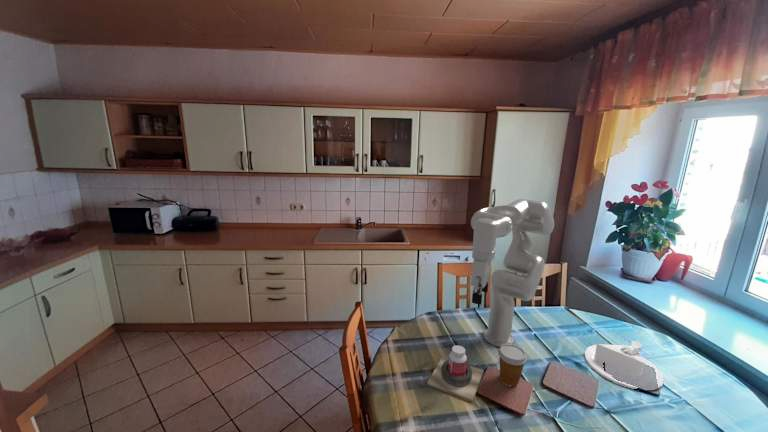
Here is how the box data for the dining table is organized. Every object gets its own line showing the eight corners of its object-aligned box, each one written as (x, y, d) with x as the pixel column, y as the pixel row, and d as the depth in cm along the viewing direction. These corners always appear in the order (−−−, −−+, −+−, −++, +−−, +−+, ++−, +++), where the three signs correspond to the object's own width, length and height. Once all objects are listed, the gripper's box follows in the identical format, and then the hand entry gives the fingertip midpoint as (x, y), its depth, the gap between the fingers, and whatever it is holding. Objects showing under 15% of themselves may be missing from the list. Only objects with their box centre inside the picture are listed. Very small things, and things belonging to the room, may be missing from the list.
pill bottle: (468, 377, 116) (471, 351, 114) (456, 384, 113) (458, 357, 110) (456, 367, 121) (458, 341, 119) (444, 373, 118) (446, 347, 116)
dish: (651, 357, 131) (657, 333, 128) (673, 401, 109) (681, 373, 106) (581, 340, 141) (585, 317, 138) (589, 378, 119) (594, 351, 116)
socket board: (442, 358, 128) (442, 349, 127) (483, 372, 120) (484, 363, 119) (427, 384, 114) (427, 374, 113) (472, 402, 107) (473, 392, 106)
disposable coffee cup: (510, 393, 111) (514, 363, 108) (489, 375, 119) (492, 347, 116) (529, 384, 115) (533, 355, 112) (508, 368, 123) (511, 340, 120)
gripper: (478, 244, 122) (475, 284, 126) (465, 260, 107) (462, 305, 112) (499, 247, 118) (495, 289, 123) (488, 264, 104) (484, 311, 108)
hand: (479, 297), depth 117 cm, fingers open, 9 cm apart
